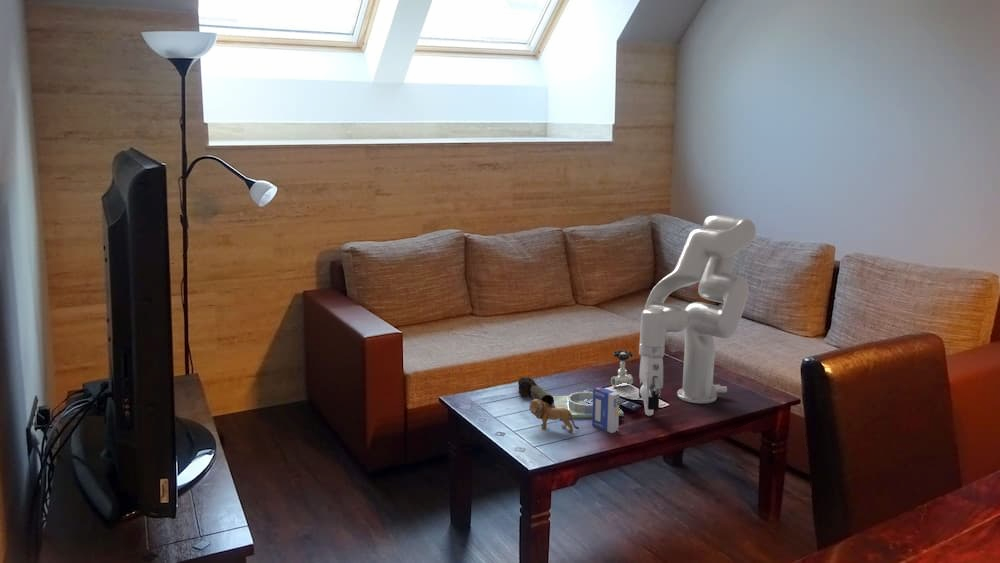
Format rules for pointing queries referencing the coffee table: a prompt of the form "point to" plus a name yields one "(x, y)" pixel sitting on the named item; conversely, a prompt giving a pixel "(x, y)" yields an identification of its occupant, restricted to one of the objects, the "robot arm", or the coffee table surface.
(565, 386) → the coffee table surface
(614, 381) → the valve
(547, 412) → the lion figurine
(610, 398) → the walkman
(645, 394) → the lightbulb
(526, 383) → the brown camo elongated piece
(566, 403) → the duct collar
